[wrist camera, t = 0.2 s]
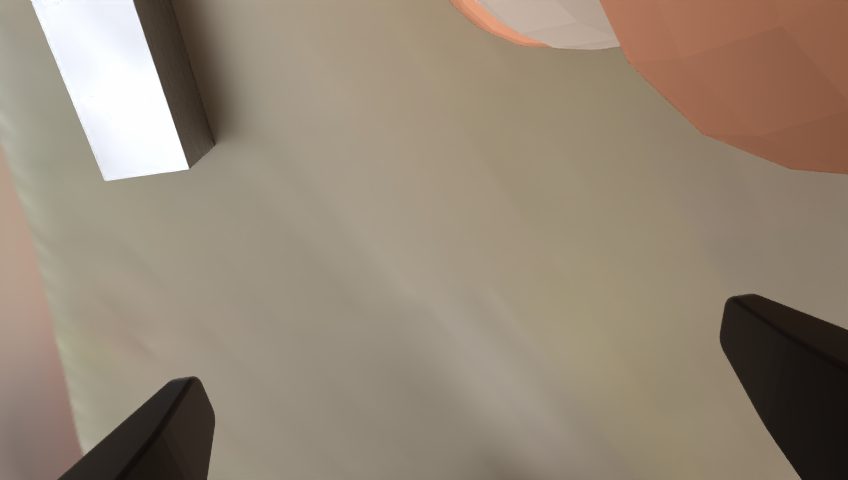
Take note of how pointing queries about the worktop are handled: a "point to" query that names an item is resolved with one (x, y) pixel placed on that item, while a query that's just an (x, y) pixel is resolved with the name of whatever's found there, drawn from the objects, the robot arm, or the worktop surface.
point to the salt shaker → (714, 63)
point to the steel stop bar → (128, 83)
